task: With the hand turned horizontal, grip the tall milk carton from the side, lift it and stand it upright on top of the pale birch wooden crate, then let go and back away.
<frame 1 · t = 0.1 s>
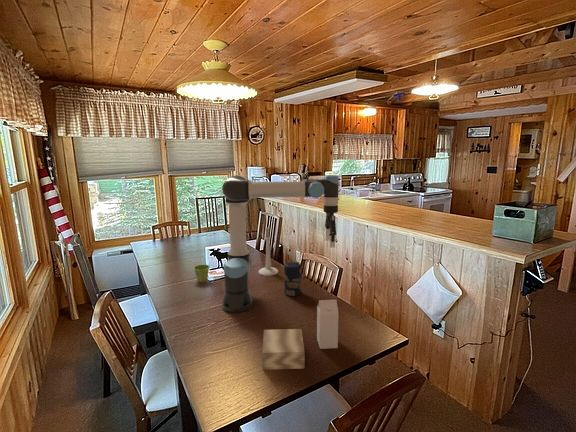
hand: (329, 243, 171), 28 cm above the table, tool pointing down, fingers open, 13 cm apart
plant pot: (202, 281, 194), on the table
milk carton: (326, 344, 129), on the table
canister: (292, 293, 176), on the table
candlestick: (268, 272, 208), on the table
crate: (283, 356, 122), on the table
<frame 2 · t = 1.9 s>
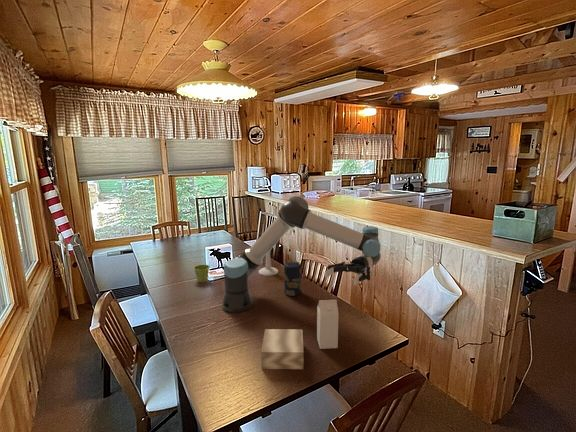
hand: (339, 278, 133), 25 cm above the table, tool horizontal, fingers open, 13 cm apart
nothing on the table moved.
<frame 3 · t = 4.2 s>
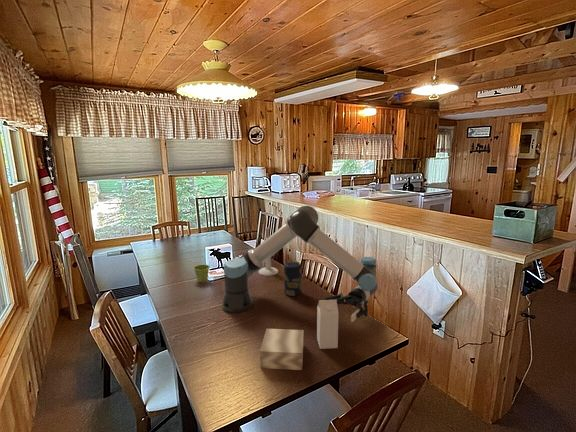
hand: (336, 313, 132), 10 cm above the table, tool horizontal, fingers open, 13 cm apart
nothing on the table moved.
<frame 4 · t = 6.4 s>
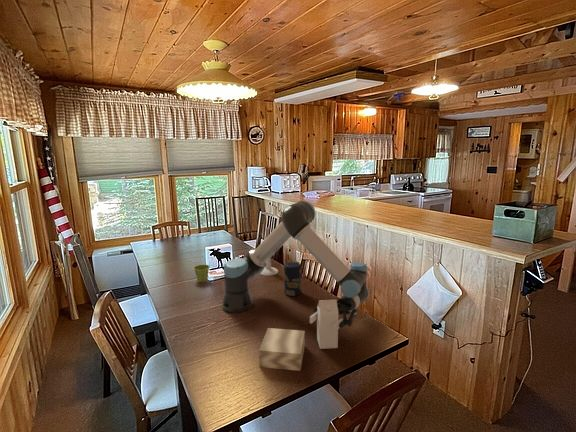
hand: (321, 324, 124), 11 cm above the table, tool horizontal, fingers closed on milk carton, 10 cm apart
milk carton: (327, 344, 129), on the table, touching gripper
everything else where it was.
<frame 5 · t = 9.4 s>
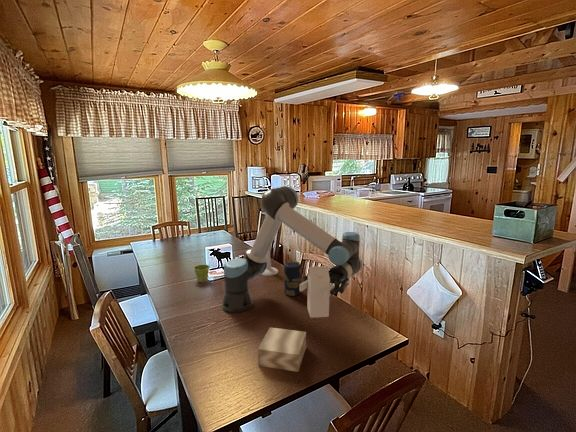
hand: (312, 291, 118), 26 cm above the table, tool horizontal, fingers closed on milk carton, 10 cm apart
milk carton: (317, 313, 123), point 15 cm above the table, touching gripper
when the fingers open (19 cm above the table, at t = 12.4 s): milk carton drops 2 cm, point 7 cm above the table.
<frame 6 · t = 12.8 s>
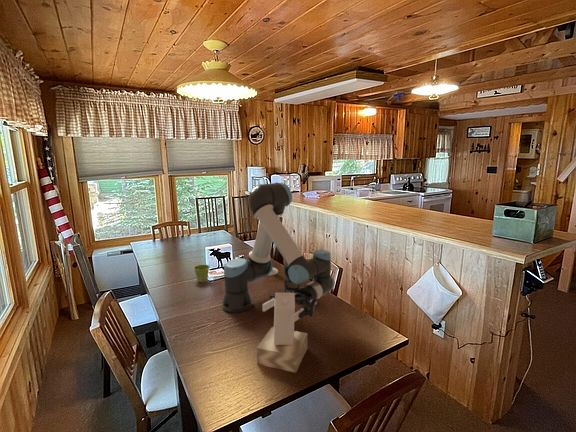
hand: (277, 313, 115), 19 cm above the table, tool horizontal, fingers open, 13 cm apart
milk carton: (283, 340, 120), point 7 cm above the table
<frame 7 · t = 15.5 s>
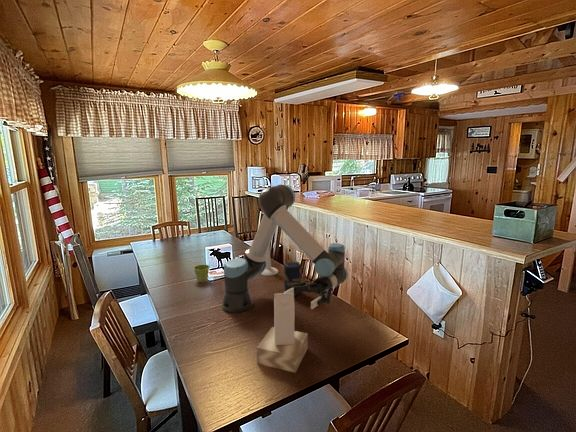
hand: (297, 300, 125), 19 cm above the table, tool horizontal, fingers open, 13 cm apart
milk carton: (284, 340, 121), point 6 cm above the table, touching crate
crate: (283, 356, 122), on the table, touching milk carton
everything else where it was.
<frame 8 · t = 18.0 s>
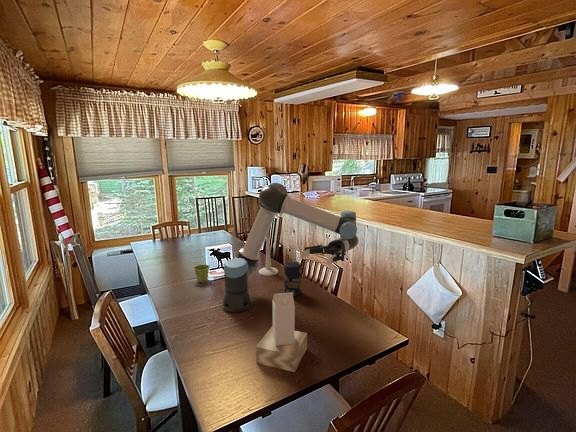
hand: (313, 258, 135), 32 cm above the table, tool horizontal, fingers open, 13 cm apart
milk carton: (283, 339, 121), point 7 cm above the table
crate: (282, 356, 122), on the table
everything else where it was.
at the end: milk carton inside the target area on the crate (0.1 cm from its centre), point 7.0 cm above the crate's base; milk carton tilted 2°; the gripper is holding nothing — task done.
